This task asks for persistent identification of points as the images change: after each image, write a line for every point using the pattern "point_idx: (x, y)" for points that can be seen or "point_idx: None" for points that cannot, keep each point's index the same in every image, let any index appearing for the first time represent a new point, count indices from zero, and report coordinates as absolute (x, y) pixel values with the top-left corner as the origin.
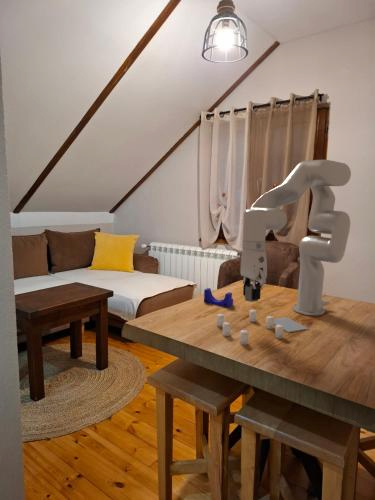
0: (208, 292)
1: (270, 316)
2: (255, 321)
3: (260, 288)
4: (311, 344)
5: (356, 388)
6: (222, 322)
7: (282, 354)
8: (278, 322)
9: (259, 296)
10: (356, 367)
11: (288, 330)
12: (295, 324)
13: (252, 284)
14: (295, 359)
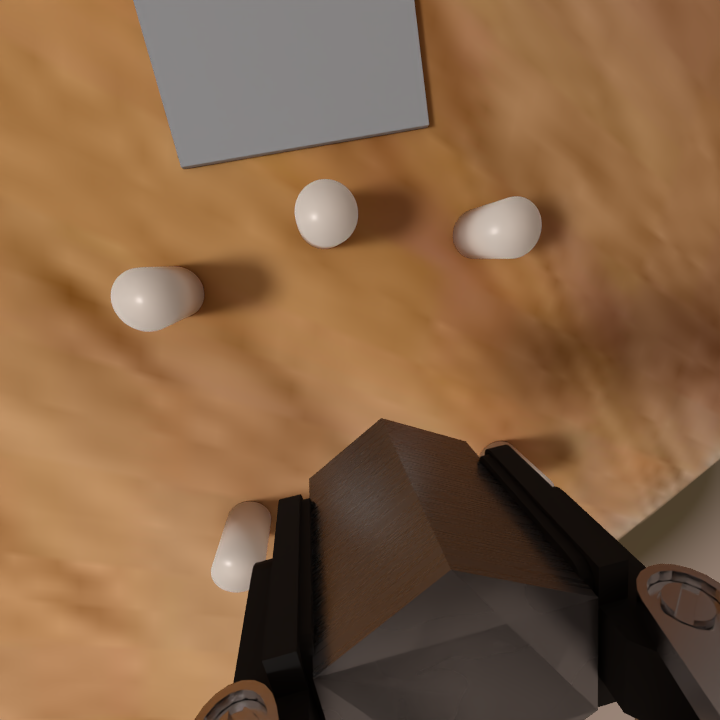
0: None
1: (305, 201)
2: (197, 278)
3: (617, 552)
4: (616, 71)
5: None
6: (267, 531)
7: (654, 319)
8: (245, 99)
9: (522, 469)
10: None
11: (409, 109)
12: None
13: (375, 669)
14: (714, 281)
